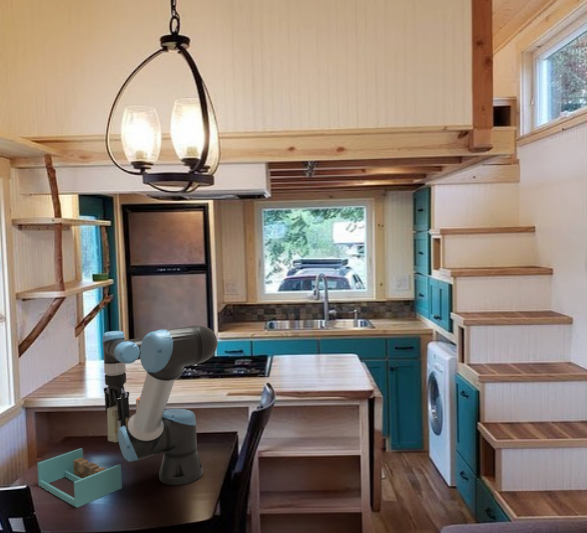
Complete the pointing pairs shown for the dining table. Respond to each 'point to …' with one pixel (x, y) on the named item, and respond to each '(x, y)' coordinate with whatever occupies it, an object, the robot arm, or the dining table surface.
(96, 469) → the offcut
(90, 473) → the block
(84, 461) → the offcut
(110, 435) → the skincare box
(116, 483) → the teal rack
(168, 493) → the dining table surface
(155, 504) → the dining table surface
